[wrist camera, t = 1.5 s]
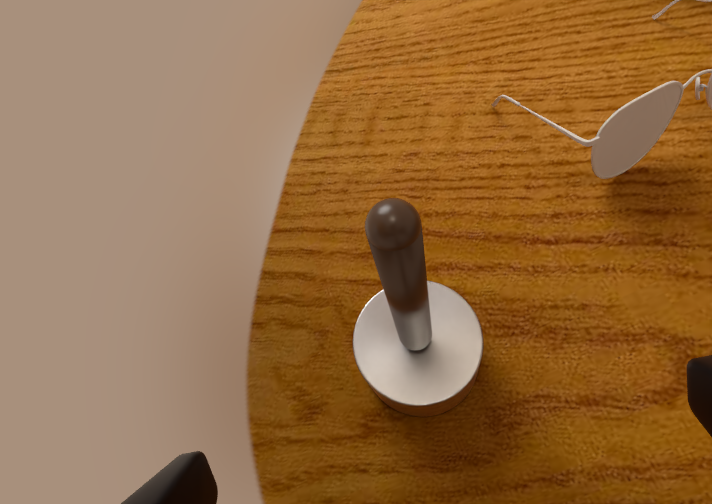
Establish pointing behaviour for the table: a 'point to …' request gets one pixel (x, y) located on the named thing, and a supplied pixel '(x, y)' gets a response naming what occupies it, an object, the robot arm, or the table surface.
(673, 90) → the sunglasses
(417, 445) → the table surface
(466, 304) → the silver joystick
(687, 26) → the table surface
